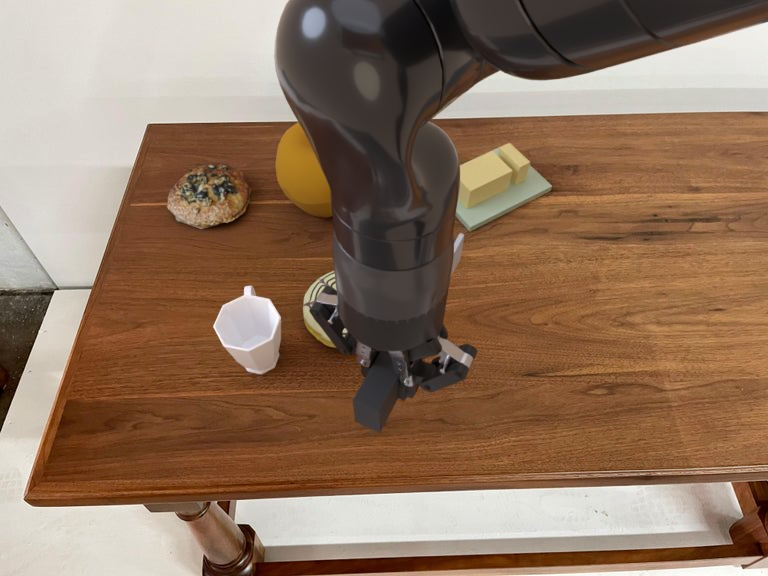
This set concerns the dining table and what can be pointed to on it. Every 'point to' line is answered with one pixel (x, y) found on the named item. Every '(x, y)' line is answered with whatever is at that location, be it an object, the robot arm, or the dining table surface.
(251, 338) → the cup
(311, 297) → the decorated donut
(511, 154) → the butter slice
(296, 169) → the apple
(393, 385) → the knife
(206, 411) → the dining table surface
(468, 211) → the butter board
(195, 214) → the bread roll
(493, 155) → the butter block
